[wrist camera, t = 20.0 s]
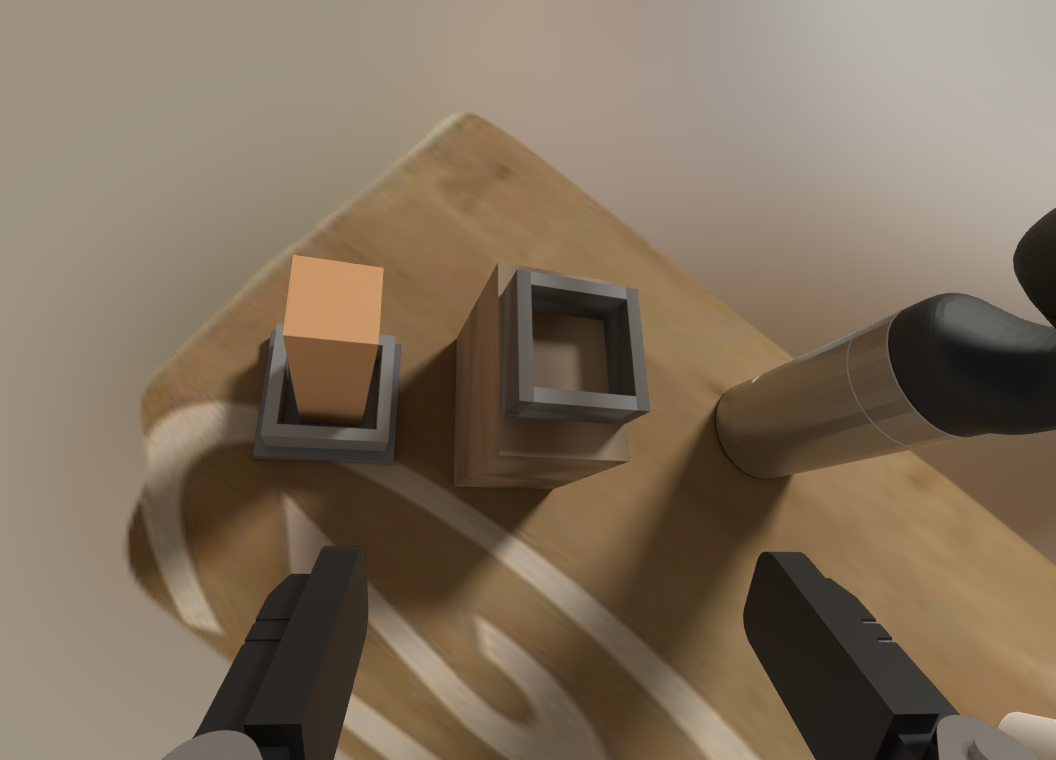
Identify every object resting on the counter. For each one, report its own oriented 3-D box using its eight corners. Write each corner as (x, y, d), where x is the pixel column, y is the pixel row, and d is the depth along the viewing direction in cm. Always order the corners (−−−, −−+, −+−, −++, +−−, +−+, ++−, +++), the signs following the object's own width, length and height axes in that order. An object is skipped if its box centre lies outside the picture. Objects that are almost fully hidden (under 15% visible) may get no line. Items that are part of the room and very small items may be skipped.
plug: (365, 372, 39) (383, 268, 25) (361, 425, 37) (378, 344, 24) (306, 367, 38) (293, 255, 24) (300, 421, 36) (282, 335, 23)
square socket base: (547, 348, 46) (637, 258, 32) (553, 489, 42) (657, 451, 28) (456, 338, 43) (512, 234, 30) (453, 486, 39) (516, 443, 26)
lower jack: (399, 349, 41) (406, 328, 38) (392, 464, 38) (398, 453, 35) (272, 335, 38) (267, 311, 35) (254, 458, 35) (245, 446, 32)
